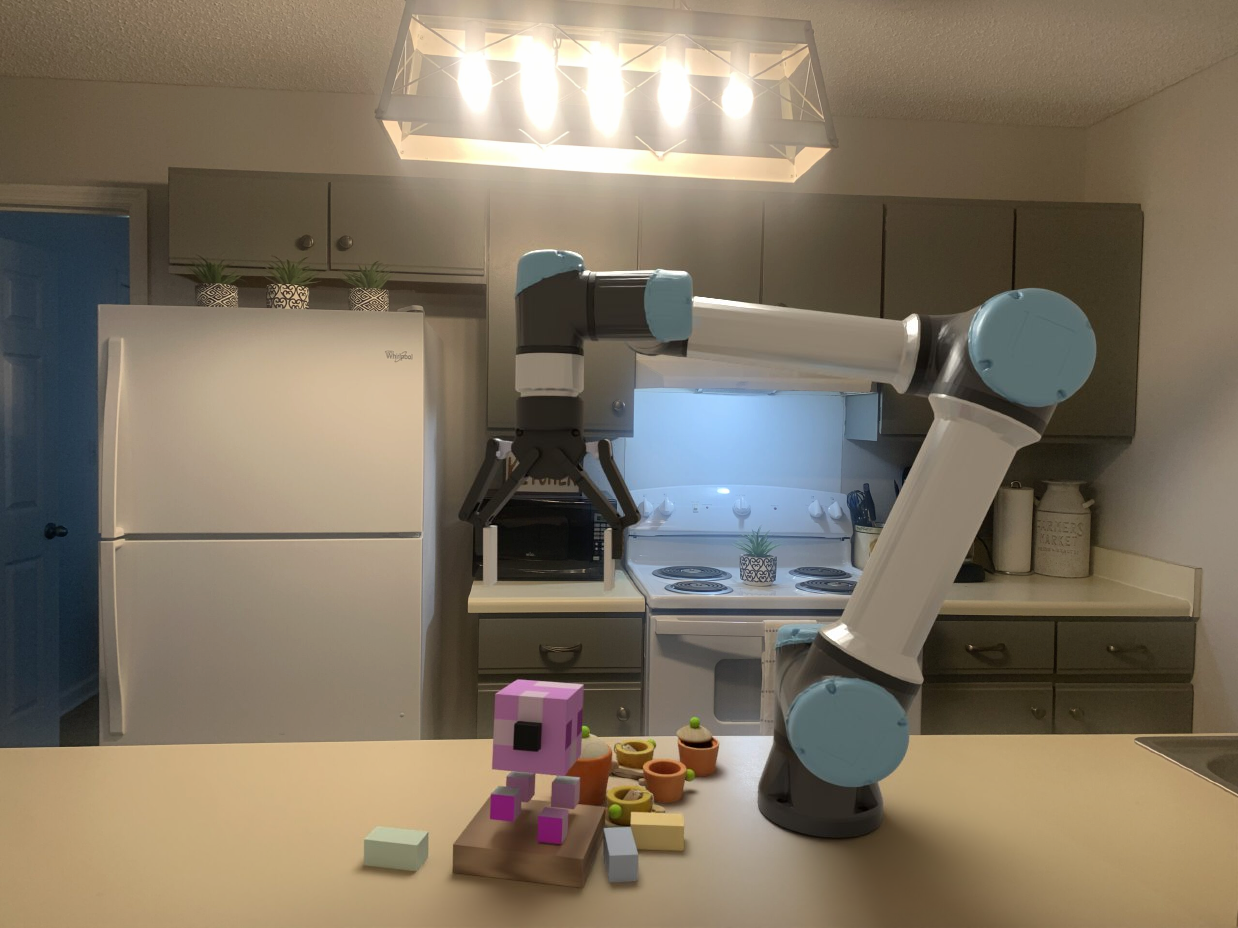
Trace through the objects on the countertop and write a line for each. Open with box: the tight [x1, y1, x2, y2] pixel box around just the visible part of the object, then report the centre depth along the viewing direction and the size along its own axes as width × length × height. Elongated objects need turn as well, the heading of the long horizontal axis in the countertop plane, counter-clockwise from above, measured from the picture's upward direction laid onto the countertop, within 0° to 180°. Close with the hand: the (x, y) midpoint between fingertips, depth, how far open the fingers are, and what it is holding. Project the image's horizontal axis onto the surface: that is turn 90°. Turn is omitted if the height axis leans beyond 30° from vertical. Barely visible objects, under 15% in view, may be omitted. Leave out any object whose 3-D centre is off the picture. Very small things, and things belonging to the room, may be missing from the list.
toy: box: [490, 679, 585, 844], centre depth 91 cm, size 11×8×15 cm
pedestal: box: [452, 794, 606, 889], centre depth 91 cm, size 14×12×3 cm
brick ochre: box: [631, 812, 685, 852], centre depth 93 cm, size 6×3×3 cm, turn 88°
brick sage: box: [363, 825, 430, 872], centre depth 88 cm, size 6×3×3 cm, turn 80°
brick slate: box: [602, 827, 639, 883], centre depth 88 cm, size 6×3×3 cm, turn 7°
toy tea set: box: [565, 716, 720, 828], centre depth 108 cm, size 26×16×10 cm, turn 146°
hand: (549, 586), depth 91 cm, fingers open, 13 cm apart
